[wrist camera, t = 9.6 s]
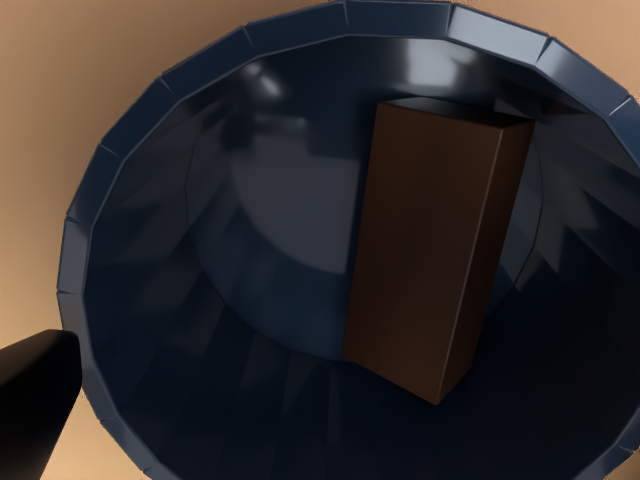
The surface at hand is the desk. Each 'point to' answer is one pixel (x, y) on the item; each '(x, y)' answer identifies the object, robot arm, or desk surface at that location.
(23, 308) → the desk surface
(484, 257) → the dark rectangular block
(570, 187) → the dark grey round bowl
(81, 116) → the desk surface
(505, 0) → the desk surface
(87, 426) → the desk surface
